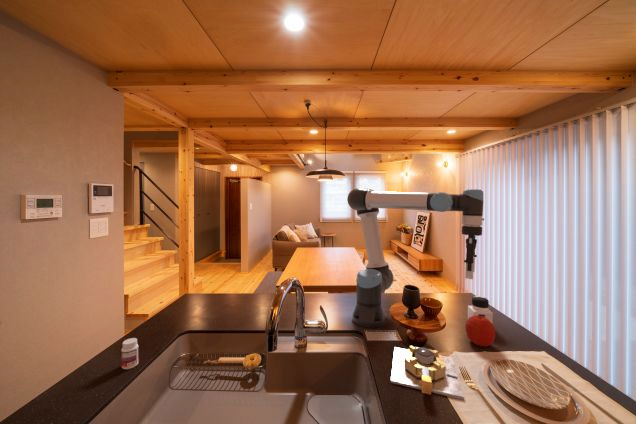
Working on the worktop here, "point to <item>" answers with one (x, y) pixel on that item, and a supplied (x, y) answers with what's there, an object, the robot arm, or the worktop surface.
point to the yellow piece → (425, 368)
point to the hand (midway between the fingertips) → (470, 274)
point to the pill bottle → (130, 353)
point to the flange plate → (404, 377)
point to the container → (480, 308)
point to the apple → (480, 330)
